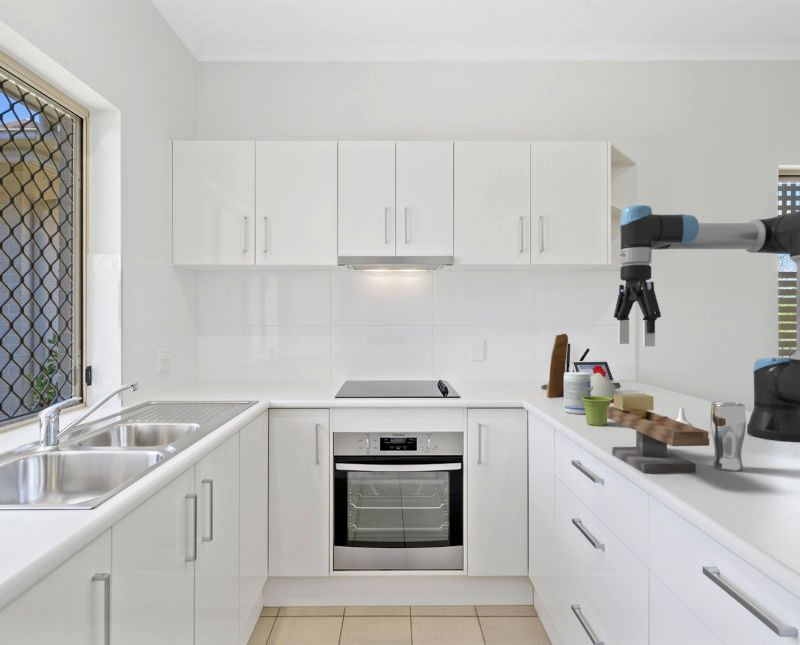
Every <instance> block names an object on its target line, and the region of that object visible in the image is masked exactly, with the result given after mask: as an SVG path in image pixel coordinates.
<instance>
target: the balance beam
mask: <svg viewBox="0 0 800 645" xmlns="http://www.w3.org/2000/svg"><path fill="white" fill-rule="evenodd" d="M646 411H647V418H642V417H638V416H635V415H632V414H630V413H627V412H624V411H622V410H620V409H617V408H614V406H609V407H607V412H606V418H607V420H608V419H609V420H610V421H614V422H616V423H618V424H620V425H622V426H625V427H627V428H630V429H632V430H634V431H635V432H636V433H635V436H636V437H635V440H636V442H635V444H636V446H611V447H612V449H611V450H612V453H611V454H612V456H613V457H616V458H617V459H619V460H620V461H623V462H624V463H626V464H627V465H629V466H631V467H633V468H634V469H636V470H637V471H639V472H641V473H643V474H661V473H662V472H679V473H696V472H697V470H696V469H697V468H696V466H697V465H696V464H697V463H696V462H694V461H691V460H689V459H687V458H685V457H682V456H681V455H679V454H676V453H674V452H672V451H669V450H668V446H671V447H706V446H707V447H709V446H710V437H709V430H704V429H702V428H699V427H696V426H693V425H692V426H691V425H688V424H685V423H682V422H679V421H676V420H677V419H672V418H671V417H669V416H666V415H665V416H663V415H662V414H658V413H655V412H653V411H651V410H646Z"/></svg>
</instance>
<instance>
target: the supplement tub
mask: <svg viewBox="0 0 800 645" xmlns="http://www.w3.org/2000/svg"><path fill="white" fill-rule="evenodd" d="M585 396H591V373H590V372H585V371H584V372H583V371H582V372H580V371H568V372H567V371H565V373H564V395H563V410H564V412H565V413H568V414H572V415H586V414H585V407H584V403H583V400H582V397H585Z"/></svg>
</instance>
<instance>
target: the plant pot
mask: <svg viewBox="0 0 800 645" xmlns="http://www.w3.org/2000/svg"><path fill="white" fill-rule="evenodd" d="M582 400H583V403H584V407H585V414H584V415H585V420H586V425H588V426H591V425H593V426H595V427H603V426H606V425H607V424H608V418H606V412H607V407H610V406H611V403H610V402H611V401H612V399H611V398H608V397H600V396H585V397H582Z"/></svg>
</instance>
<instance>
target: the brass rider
mask: <svg viewBox="0 0 800 645" xmlns="http://www.w3.org/2000/svg"><path fill="white" fill-rule="evenodd" d="M613 407H614V408H617V409H620V410H622V411H624V412H627V413H630V414H632V415H635V416H638V417H642V418H647V411H654V396H653V395H650V394H646V393H616V394H614V403H613ZM646 410H647V411H646Z"/></svg>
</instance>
